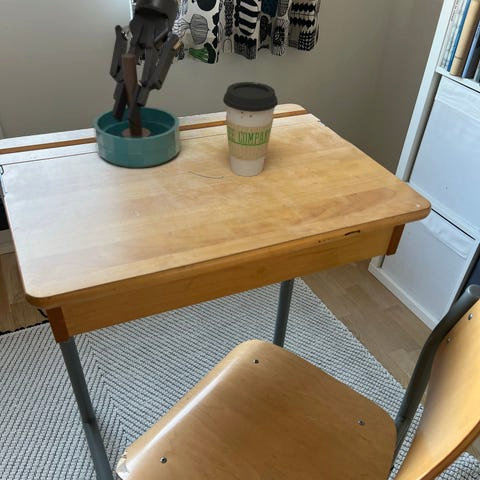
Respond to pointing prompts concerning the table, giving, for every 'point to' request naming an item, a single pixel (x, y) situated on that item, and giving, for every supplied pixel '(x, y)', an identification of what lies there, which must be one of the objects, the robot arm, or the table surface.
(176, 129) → the bowl
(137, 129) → the brown pestle
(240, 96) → the coffee cup
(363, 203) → the table surface
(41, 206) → the table surface
